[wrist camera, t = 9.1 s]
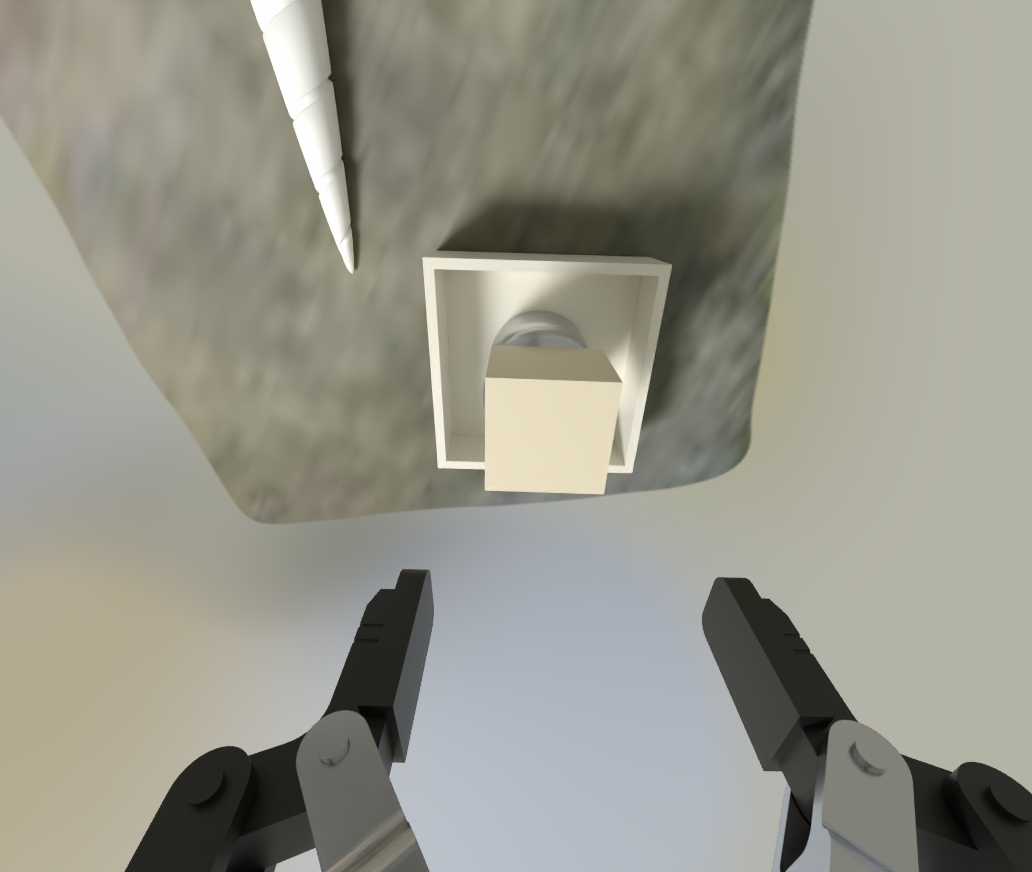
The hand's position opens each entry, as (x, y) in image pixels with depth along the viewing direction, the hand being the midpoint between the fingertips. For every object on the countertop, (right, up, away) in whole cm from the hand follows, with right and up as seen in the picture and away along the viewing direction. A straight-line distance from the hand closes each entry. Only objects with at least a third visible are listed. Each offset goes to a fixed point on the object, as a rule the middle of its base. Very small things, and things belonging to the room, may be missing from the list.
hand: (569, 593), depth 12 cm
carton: (0, +7, +12) cm, 14 cm away
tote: (0, +10, +19) cm, 21 cm away
